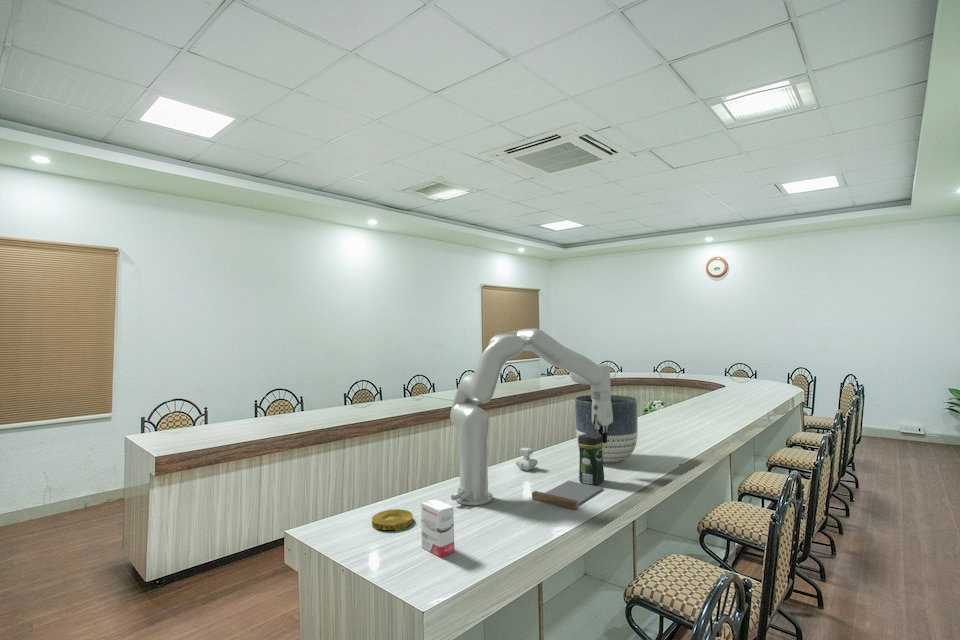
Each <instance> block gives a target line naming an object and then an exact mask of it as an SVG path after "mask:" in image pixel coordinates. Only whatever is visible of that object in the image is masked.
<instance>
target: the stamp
mask: <svg viewBox="0 0 960 640" xmlns="http://www.w3.org/2000/svg"><path fill="white" fill-rule="evenodd" d="M518 451H519V453H520V455H522V458H519V459H517V460H516V461H515V465H516V466H517V467H518V469H519V470H524V471H528V472H529V471H530V470H533V469H535V468H536V467H537V465H538V460H537V459H535V458H530V456H531V455H533V448H530V447H529V448H528V447H521V448H519V449H518Z"/></svg>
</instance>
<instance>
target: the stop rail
mask: <svg viewBox="0 0 960 640" xmlns="http://www.w3.org/2000/svg"><path fill="white" fill-rule="evenodd" d="M531 499H532V501H537V502H540V503H544V504H548V505H553V506H557V507H559V508H560V507H561V508H564V509H568V510H573V511H576V510H577V509H578V508H579V505H578V501H576V500H572V499H568V498H564V497H559V496H555V495H551V494H547V493H546V492H543V491H538V490H534V491H532V492H531Z"/></svg>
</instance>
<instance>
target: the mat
mask: <svg viewBox="0 0 960 640" xmlns="http://www.w3.org/2000/svg"><path fill="white" fill-rule="evenodd" d="M603 490H604V487H601V486H598V485H587V484H582V483H581V482H577V481H572V480H567V481H565V482H563V483H561V484H560V485H557V486H556V487H554V488H552V489H550V490H548V491H546V492H545V493H547V494H551V495H555V496H559V497H564V498H568V499H572V500H576V501H578V506H580V505H582V504H583V503H584V502H586V501H588V500H589V499H591V498H592V497H594V496H596V495H598V494H599V493H600V492H602V491H603Z"/></svg>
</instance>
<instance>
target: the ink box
mask: <svg viewBox="0 0 960 640" xmlns="http://www.w3.org/2000/svg"><path fill="white" fill-rule="evenodd" d="M420 509H421V511H420V512H421V513H420V515H421V517H420V518H421V521H420V522H421V526H420V528H421V547H422V549H425V550H426V551H427V552H430V553H432V554H434V555H436V556H438V557H439V558H443V557H445V556H447V555H450V554H451V553H452V554H453V553H454V552H455V525H454V524H455V521H454V520H455V517H454V506H452V505H451V504H448V503H445V502H442V501H440V500H438V499H436V498H435V499H430V500H426V501H423V502H421V505H420Z"/></svg>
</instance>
